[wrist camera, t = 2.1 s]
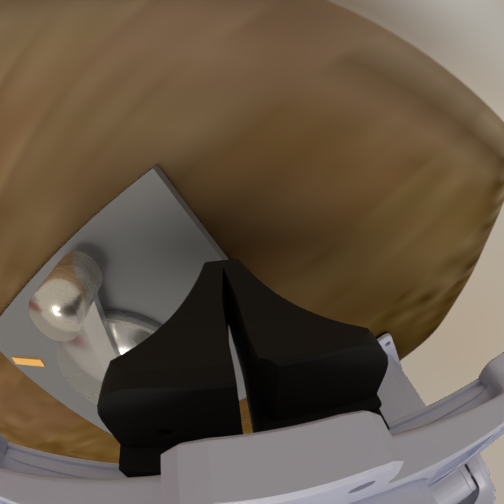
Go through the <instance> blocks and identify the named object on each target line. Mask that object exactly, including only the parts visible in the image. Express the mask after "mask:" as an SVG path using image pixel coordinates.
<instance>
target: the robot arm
mask: <svg viewBox="0 0 504 504" xmlns="http://www.w3.org/2000/svg"><path fill="white" fill-rule="evenodd" d="M229 328H230V332H231V336H232V339H233V343H234V346H235V350H236V353H237V357H238V360H239V364H240V367H241V371H242V375H243V380H244V385H245V391H246V396H247V402H248V407H249V413H250V418H251V423H252V429H253V433H249V434H243V431H242V423H241V415H240V407H239V398H238V389H237V382H236V376H235V370H234V364H233V359H232V355H231V350H230V345H229ZM97 412H98V415H99V417H100V419H101V421H102V422H103V423H104V425H105V426H106V427H107V429H108V430H109V431H110V432H111V434H112V435H113V436H114V437H115V438H116V440H117V441H118V442H119V443H120V444H121V447H120V458H119V464H117V463H107V462H98V461H90V460H84V459H77V458H71V457H66V456H61V455H56V454H51V453H47V452H43V451H39V450H35V449H31V448H27V447H23V446H20V445H17V444H13V443H10V442H8V441H7V440H6V438H5V437H4V436H3V435H2V434H1V433H0V504H494V502H495V499H496V497H495V495H494V494H495V492H496V489H495V487H494V485H493V483H492V481H491V479H490V477H489V476H490V474H489V471H488V468H487V466H486V465H485V462H484V461H483V459H482V457H481V455H480V452H482V451H483V450H484V449H485V448H487V447H488V446H489V445H490V444H491V443H493V442H494V441H495V440H496V439H497V438H499V437H500V436H501V435H502V434H503V433H504V352H503V353H502V354H500V355H499V356H497V357H496V358H494V359H492V360H491V361H490V362H489V363H488V364H487V365H486V366H485V368H484V369H483V370H482V372H481V374H480V375H479V378H478V379H476V380H475V381H473V382H471V383H470V384H468V385H466V386H465V387H463V388H461V389H459V390H458V391H456V392H454V393H452V394H450V395H448V396H447V397H445V398H443V399H441V400H439V401H437V402H435V403H433V404H431V405H429V406H427V407H426V405H425V404H424V402H423V401H422V399H421V398H420V396H419V395H418V393H417V392H416V390H415V389H414V387H413V386H412V384H411V383H410V381H409V380H408V378H407V377H406V375H405V374H404V372H403V371H402V368H401V364H400V361H399V358H398V355H397V351H396V348H395V345H394V342H393V339H392V337H391V335H390V334H389V333H386V334H384V335H382V336H381V337H379V338H378V339H376V338H375V337H374V335H373V334H372V333H371V332H370V330H369V329H368V328H364V327H359V326H355V325H350V324H345V323H341V322H337V321H334V320H331V319H328V318H325V317H322V316H319V315H317V314H314V313H312V312H309V311H307V310H305V309H303V308H300V307H298V306H296V305H294V304H293V303H291V302H289V301H287V300H286V299H284V298H282V297H281V296H279V295H277V294H276V293H275V292H273V291H272V290H270V289H269V288H268V287H267V286H265V285H264V284H263V283H262V282H261V281H260V280H258V279H257V278H256V277H255V276H254V275H253V274H252V273H251V272H250V271H249V270H248V269H247V268H246V267H245V266H244V265H243V264H242V263H241V261H240V260H238V259H229V260H219V261H210V262H205V263H204V264H203V267H202V270H201V272H200V274H199V276H198V278H197V280H196V282H195V284H194V286H193V287H192V289H191V291H190V292H189V294H188V295H187V297H186V298H185V300H184V301H183V303H182V304H181V305H180V307H179V308H178V309H177V310H176V312H175V313H174V314H173V315H172V316H171V317H170V318H169V319H168V320H167V321H166V322H165V323H164V324H163V325H162V326H161V327H160V328H159V329H158V330H157V331H155V332H154V333H153V334H152V335H150V336H149V337H148V338H147V339H145V340H144V341H142V342H141V343H140V344H138V345H137V346H135V347H134V348H132V349H130V350H129V351H127V352H125V353H123V354H122V355H120V356H118V357H116V358H115V359H113V360H111V361H110V363H109V366H108V368H107V370H106V373H105V376H104V379H103V382H102V386H101V390H100V395H99V399H98V404H97ZM469 473H470V474H469ZM470 475H471V476H470Z"/></svg>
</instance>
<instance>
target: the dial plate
mask: <svg viewBox="0 0 504 504" xmlns="http://www.w3.org/2000/svg"><path fill="white" fill-rule="evenodd" d="M71 251H80V252H83V253H86V254H88V255H89V256H91V257H92V258H93V259H94V260H95V261H96V262H97V264H98V265H99V267H100V269H101V272H102V284H101V286H100V288H99V290H98V292H97V295H98V298H99V301H100V303H101V306H102V309H103V310H120V311H126V312H131V313H134V314H138V315H141V316H144V317H146V318H148V319H151V320H153V321H155V322H157V323H159V324H160V325H163V324H164V323H165V322H166V321H167V320H168V319H169V318H170V317H171V316H172V315H173V314H174V313H175V312H176V310H177V309H178V308H179V307H180V305H181V304H182V303H183V301H184V300H185V298H186V297H187V295H188V294H189V292H190V291H191V289H192V287H193V286H194V284H195V282H196V280H197V278H198V276H199V274H200V272H201V270H202V267H203V264H204V263H205V262H210V261H219V260H229V259H228V258H227V256H226V255H225V254H224V252H223V251H222V250H221V249H220V247H219V246H218V245H217V243H216V242H215V241H214V239H213V238H212V237H211V235H210V234H209V233H208V232H207V230H206V229H205V228H204V226H203V225H202V224H201V222H200V221H199V220H198V218H197V217H196V216H195V214H194V213H193V212H192V210H191V209H190V208H189V206H188V205H187V204H186V202H185V201H184V200H183V198H182V197H181V196H180V194H179V193H178V192H177V190H176V189H175V188H174V186H173V185H172V184H171V182H170V181H169V180H168V178H167V177H166V175H165V174H164V173H163V171H162V170H161V169H160V167H159V166H158V165H155V166H154V167H153V168H151V169H150V170H149V171H147V172H146V173H145V174H143V175H142V176H141V177H140V178H138V179H137V180H136V181H135V182H133V183H132V184H131V185H130V186H128V187H127V188H126V189H125V190H124V191H122V192H121V193H120V194H119V195H118V196H116V197H115V198H114V199H113V200H112V201H110V202H109V203H108V204H107V205H106V206H105V207H104V208H102V209H101V210H100V211H99V212H98V213H97V214H96V215H94V216H93V217H92V218H91V219H90V220H89V221H88V222H87V223H86V224H85V225H84V226H82V227H81V228H80V229H79V230H78V231H77V232H76V233H75V234H74V235H73V236H72V237H71V238H70V239H69V240H68V241H67V242H66V243H65V244H64V245H63V246H62V247H61V248H60V249H59V250H58V251H57V252H56V253H55V254H54V255H53V256H52V257H51V258H50V259H49V260H48V261H47V262H46V263H45V264H44V265H43V266H42V268H41V269H40V270H39V271H38V272H37V273H36V274H35V275H34V276H33V277H32V279H31V280H30V281H29V282H28V283H27V284H26V285H25V286H24V288H23V289H22V290H21V291H20V292H19V294H18V295H17V296H16V297H15V298H14V299H13V301H12V302H11V303H10V304H9V306H8V307H7V308H6V309H5V311H4V312H3V313H2V314H1V316H0V351H1V352H2V353H3V354H4V355H5V356H6V357H7V358H8V359H9V360H10V361H11V362H12V363H13V364H14V365H15V366H17V367H18V368H19V369H20V370H21V371H22V372H23V373H25V374H26V375H27V376H28V377H29V378H30V379H32V380H33V381H34V382H35V383H36V384H38V385H39V386H40V387H41V388H43V389H44V390H45V391H47V392H48V393H49V394H51V395H52V396H53V397H55V398H56V399H57V400H59V401H60V402H61V403H63V404H64V405H66V406H67V407H68V408H70V409H71V410H73V411H74V412H76V413H77V414H79V415H80V416H82V417H83V418H85V419H87V420H88V421H90V422H91V423H93V424H95V425H96V426H98V427H100V428H101V429H103V430H105V431H106V432H108V433H110V434H111V432H110V431H109V430H108V429H107V427H106V426H105V425H104V423H103V422H102V421H101V419H100V417H99V415H98V412H97V405H96V404H95V403H93V402H91V401H89V400H88V399H86V398H85V397H83V396H82V395H81V394H80V393H78V392H77V391H76V390H75V389H74V388H73V387H72V386H71V385H70V384H69V383H68V381H67V380H66V379H65V377H64V376H63V374H62V372H61V370H60V368H59V365H58V361H57V348H58V345H59V342H60V341H57V340H54V339H51V338H49V337H48V336H46V335H45V334H43V333H42V332H41V331H40V330H39V329H38V328H37V327H36V326H35V324H34V323H33V321H32V319H31V317H30V314H29V308H28V306H29V301H30V299H31V298H32V296H33V295H34V293H35V292H36V291H37V289H38V288H39V287H40V285H41V284H42V283H43V281H44V280H45V279H46V277H47V276H48V275H49V273H50V272H51V271H52V270H53V268H54V267H55V266H56V264H57V263H58V262H59V261H60V260H61V258H62V257H63V256H64V255H65V254H66V253H68V252H71ZM229 345H230V350H231V355H232V359H233V364H234V370H235V376H236V382H237V389H238V398H239V400H241V399H243V398H245V397H247V396H246V391H245V385H244V380H243V375H242V371H241V367H240V364H239V360H238V357H237V353H236V350H235V346H234V343H233V339H232V336H231V332H230V328H229Z"/></svg>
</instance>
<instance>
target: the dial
mask: <svg viewBox="0 0 504 504" xmlns="http://www.w3.org/2000/svg"><path fill="white" fill-rule="evenodd" d="M101 284H102V272H101V269H100V267H99V265H98V264H97V262H96V261H95V260H94V259H93V258H92V257H91V256H89V255H88V254H86V253H83V252H80V251H71V252H68V253H66V254H65V255H64V256H63V257H62V258H61V260H60V261H59V262H58V263H57V264H56V266H55V267H54V268H53V270H52V271H51V272H50V273H49V275H48V276H47V277H46V279H45V280H44V281H43V283H42V284H41V285H40V287H39V288H38V289H37V291H36V292H35V293H34V295H33V296H32V298H31V299H30V301H29V306H28V308H29V314H30V317H31V319H32V321H33V323H34V324H35V326H36V327H37V328H38V329H39V330H40V331H41V332H42V333H43V334H45V335H46V336H48V337H49V338H51V339H54V340H57V341H60V342H59V345H58V348H57V361H58V365H59V368H60V370H61V372H62V374H63V376H64V377H65V379H66V380H67V381H68V383H69V384H70V385H71V386H72V387H73V388H74V389H75V390H76V391H77V392H78V393H80V394H81V395H82V396H83V397H85V398H86V399H88V400H89V401H91V402H93V403H95V404H96V405H97V404H98V399H99V395H100V390H101V386H102V382H103V379H104V376H105V373H106V370H107V368H108V366H109V363H110V361H111V360H113V359H115V358H116V357H118V356H120V355H122V354H123V353H125V352H127V351H129V350H130V349H132V348H134V347H135V346H137V345H138V344H140V343H141V342H142V341H144V340H145V339H147V338H148V337H149V336H150V335H152V334H153V333H154V332H155V331H157V330H158V329H159V328H160V327H161V326H162V325H160V324H159V323H157V322H155V321H153V320H151V319H148V318H146V317H144V316H141V315H138V314H134V313H131V312H126V311H120V310H103V309H102V306H101V303H100V301H99V298H98V295H97V292H98V290H99V288H100V286H101Z"/></svg>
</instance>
